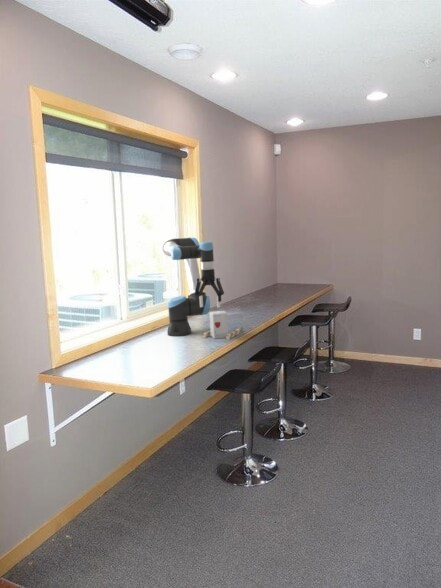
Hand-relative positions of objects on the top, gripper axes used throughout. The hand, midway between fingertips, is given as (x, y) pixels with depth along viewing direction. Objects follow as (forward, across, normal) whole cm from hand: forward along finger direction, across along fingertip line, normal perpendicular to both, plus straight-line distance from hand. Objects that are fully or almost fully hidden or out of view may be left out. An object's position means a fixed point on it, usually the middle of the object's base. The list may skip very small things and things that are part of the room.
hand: (210, 307), depth 269 cm
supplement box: (+20, 0, -10) cm, 22 cm away
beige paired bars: (+20, 0, -16) cm, 25 cm away
